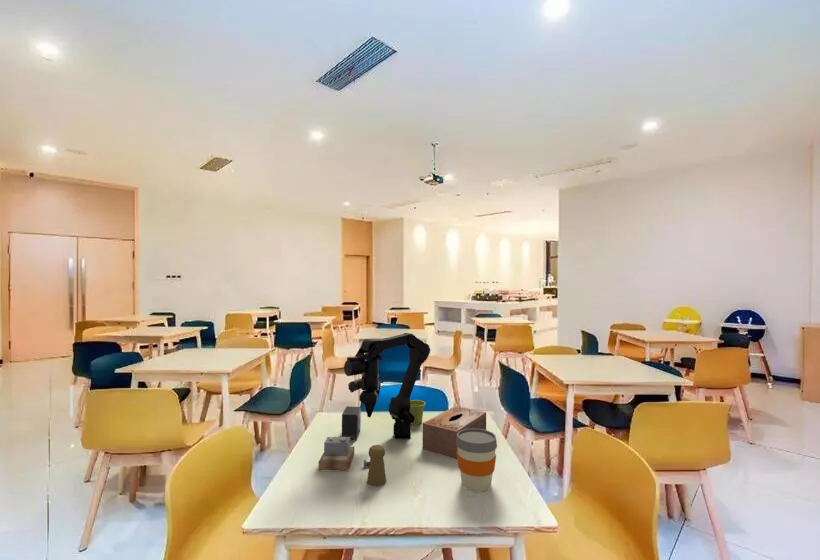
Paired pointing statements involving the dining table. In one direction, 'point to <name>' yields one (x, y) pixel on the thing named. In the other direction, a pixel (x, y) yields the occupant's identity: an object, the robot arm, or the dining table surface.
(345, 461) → the picture frame
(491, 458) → the reusable coffee cup
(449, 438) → the tissue box cover
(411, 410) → the plant pot
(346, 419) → the small box
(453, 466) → the dining table surface
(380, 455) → the cork
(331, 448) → the housing
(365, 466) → the loose bolt
